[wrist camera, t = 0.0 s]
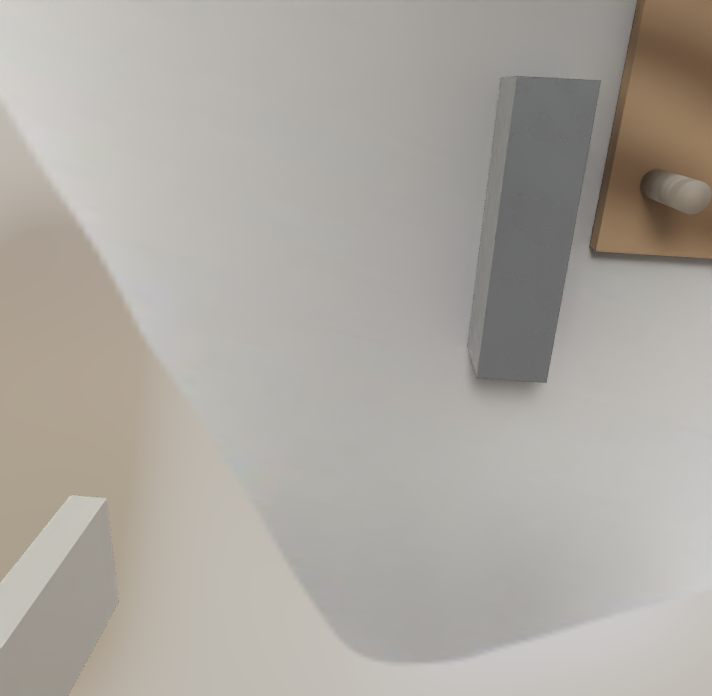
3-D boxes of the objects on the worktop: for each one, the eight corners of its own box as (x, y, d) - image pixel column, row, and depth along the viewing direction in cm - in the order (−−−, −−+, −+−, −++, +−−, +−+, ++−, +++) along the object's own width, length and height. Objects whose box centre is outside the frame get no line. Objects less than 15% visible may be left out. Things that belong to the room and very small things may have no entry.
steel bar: (500, 78, 35) (516, 76, 30) (573, 81, 35) (601, 80, 30) (467, 345, 41) (476, 377, 37) (529, 349, 41) (546, 382, 36)
